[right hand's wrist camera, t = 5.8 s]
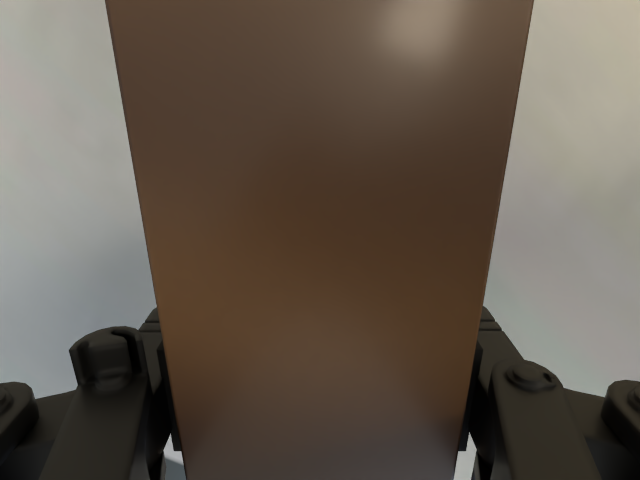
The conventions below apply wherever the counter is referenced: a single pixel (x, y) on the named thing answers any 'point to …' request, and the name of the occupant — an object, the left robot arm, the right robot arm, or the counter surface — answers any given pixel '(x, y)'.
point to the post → (319, 221)
